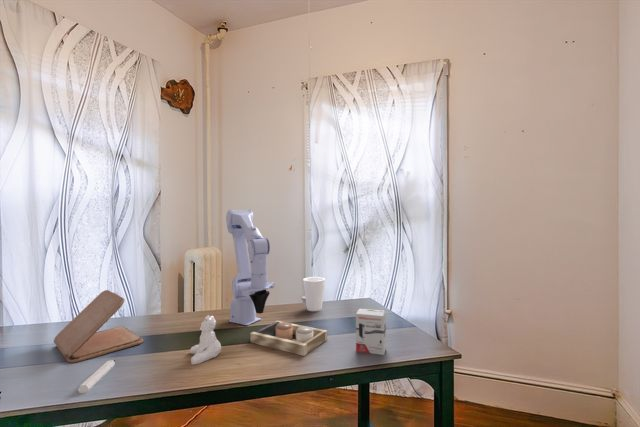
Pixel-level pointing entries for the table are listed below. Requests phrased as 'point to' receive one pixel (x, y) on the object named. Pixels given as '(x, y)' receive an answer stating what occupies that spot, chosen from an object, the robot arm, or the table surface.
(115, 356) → the table surface
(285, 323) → the terracotta jar
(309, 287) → the foam cup
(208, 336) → the sitting furry creature
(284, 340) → the beige flat open box
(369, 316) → the ink box
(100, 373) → the marker
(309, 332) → the cream jar
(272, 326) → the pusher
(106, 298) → the case
